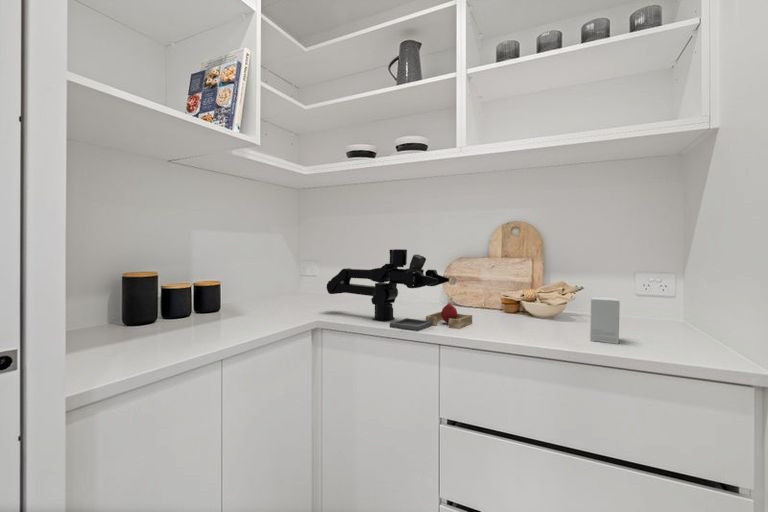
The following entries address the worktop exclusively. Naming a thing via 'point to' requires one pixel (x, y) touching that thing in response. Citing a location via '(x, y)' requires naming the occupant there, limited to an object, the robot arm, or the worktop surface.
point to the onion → (449, 312)
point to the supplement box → (604, 320)
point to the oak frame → (451, 320)
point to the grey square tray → (411, 324)
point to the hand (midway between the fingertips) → (443, 280)
